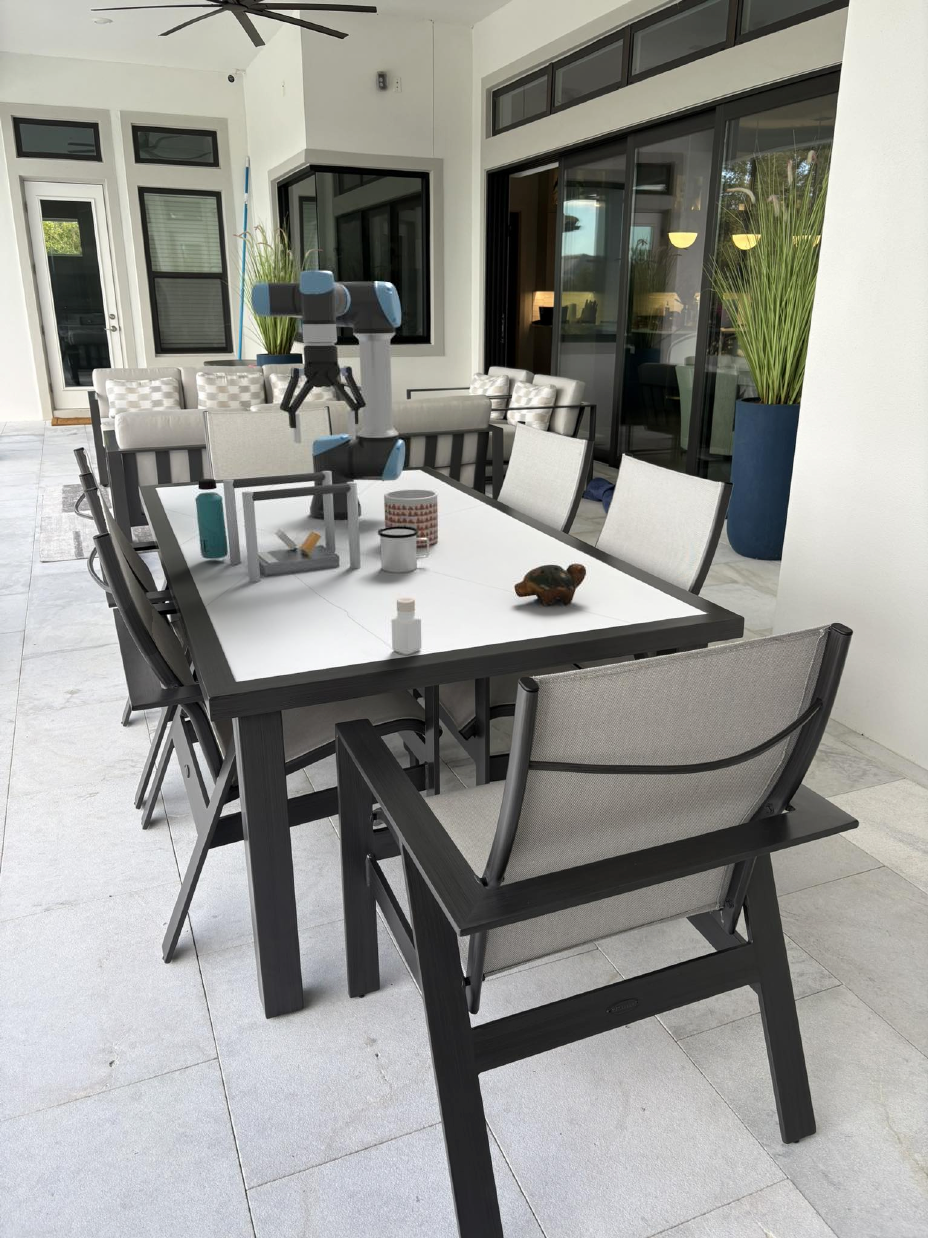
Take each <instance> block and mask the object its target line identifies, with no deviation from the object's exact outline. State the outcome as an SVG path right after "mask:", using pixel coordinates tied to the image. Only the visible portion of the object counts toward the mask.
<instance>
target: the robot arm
mask: <svg viewBox="0 0 928 1238" xmlns="http://www.w3.org/2000/svg"><path fill="white" fill-rule="evenodd" d="M250 298H251V300H250V301H251V306H252V309H253V312H254V313H255V314H256V315H257V316H258V317H267V318H270V317H271V318H273V317H274V318H275V317H277V318H279V317H280V318H301V320H302V321H301V324H302V339H303V340H302V342H303V343H304V344H305V345H304V347H303V362H304V366H303V368H297V367H291V368H290V378H289V381H288V383H287V387H286V389H285V392H284V395H283V397H282V400H281V403H280V406H279V409H280V411H283V412H285V413H287V415H288V426H289V428H291V429H293V439H294V440H293V441H294V443H295V444H296V443H297V444H302V435H301V433H302V431H301V420H300V419H301V418H300V413H297V411H298V410H299V409H300V407H301V406H302V404H303V402H304V401H305V400H306V398H307V397H308V395H309V394H310V392H311V391H313V389H314V388H322V387H325V388H331V387H332V388H333V389H334V390H335V391H336V393H337V394H338V395H339V396H340V397H341V399H342V400H343V401H344V402H345V404H346V405H347V406H348V407H349V408H350V409H348V410H347V412H346V413H347V430H348V431H347V432H348V433H341V434H339V433H338V434H332V435H331V434H330V435H326V436H322V437H318V438H316V439H314V441H312V454H311V457H312V465H313V466H312V467H313V468H312V470H313V473H318V472H322V471H331V473H332V485H333V484H343V483H347V482H355V481H380V482H386V481H387V482H388V481H396V480H398V479H399V478H400V476H401V475H402V473H403V468H404V465H405V464H404V463H405V458H406V456H405V455H406V443H405V441H404V440H402V439H399V432H398V431H397V430H396V429H395V428H394V424H393V423H394V420H393V418H394V417H393V394H392V393H393V392H392V391H393V390H392V386H393V385H392V364H391V363H392V362H391V361H392V358H391V356H392V355H391V339H392V338H393V337H394V336H395V335H396V329H397V328H398V327H400V326H401V325H402V309H401V308H402V307H401V301H400V299H399V298H400V297H399V295H398V291H397V288H396V286H395V285H394V284H393V283H391V282H387V281H377V280H376V281H338V282H337V281H335V276H334V273H333V272H332V271H330V270H303V271H301V273H300V275H299V282H269V281H265V282H257V283H255V284H254V285H253V286H252V289H251V294H250ZM337 327H341V328H342V327H343V328H344V327H345V328H346V327H347V328H352V333H353V334H352V335H353V336H355V337H356V339H358V343H359V344H358V346H359V348H358V349H359V366H360V367H359V368H360V369H359V371H360V388H359V387H358V384H357V382H356V380H355V378H354V375H353V369H352V367H351V366H349V365H345V366H343V367H341V366H339V358H338V357H339V356H338V355H339V354H338V346H337V345H335V344H336V343H337V342H338V336H337V335H338V333H337ZM340 374H341V375H342V377H344V380H345V381H346V384H347V386H348V388H349V390H350V392H351V394H352V396H353V398H354V399H353V398H352V397H351V396H350V394H349V393H348V392H347V390H346V389H345V388H344V387H343V386H342V384H341V382H340V381H339V380H338V377H339V375H340ZM302 375H304V377H305V378H306V381H305V382H304V383H303V385H302V387H301V389H300V390H299V392H298V393H297V395H296V396H295V397H294V395H295V392H296V388H297V387H298V384H299V381H300V379H301V378H302ZM293 398H294V399H293ZM292 400H293V401H292ZM360 410H361V414H362V417H361V418H362V429H361V430H360V431H359V432H358V433H357V434H356V425H359V422H360V421H359V411H360ZM356 435H357V436H356ZM313 482H314V483H313V484H314V485H313V486H322V481H313ZM358 497H359V496H357V498H358ZM333 511H334V521H336V520H337V521H338V520H348V508H347V492H342V493H333ZM309 515H310V517H311V518H314V519H319V520H324V507H323V494H322V495H312V499H311V503H310V506H309ZM361 515H362V505H361V502H360V499H359V498H358V517H360V516H361Z"/></svg>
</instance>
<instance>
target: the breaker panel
mask: <svg viewBox="0 0 928 1238" xmlns="http://www.w3.org/2000/svg"><path fill="white" fill-rule="evenodd" d="M300 550H301V548H300V547H297V550H294V549H293V550H292V549H290V548H287V549H278V550H273V551H272V550H271V551H263V552H258V557H259V569H260V574H261V575H263V576H264V577H271V576H279V575H284V574H285V575H287V574H292V573H299V572H300V573H301V572H308V571H314V570H315V571H316V570H323V569H329V568H336V567H340V555H338V554H336V553H335V552H332V551H331V550H329V549H328V548H326V546H325V545H322V544H320V545H315V547H314V548H313V549H312V551H311V552H310V554H308V553H307V555H305V554H303V553H302V552H301V551H300Z"/></svg>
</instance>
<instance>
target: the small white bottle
mask: <svg viewBox="0 0 928 1238" xmlns="http://www.w3.org/2000/svg"><path fill="white" fill-rule="evenodd" d="M415 601H416V599H415V598H413V597H408V596H406V597H403V596H402V597H399V598H397V599H396V613H397V614H396V616H394V617H393V618H392V619H391V643H392V645H391V646H392V651H394V652H397V653H400V654H402V655H404V656H405V655H407V656H408V655H411V654H413V653H416V652H418V651H419V652H420V651H421V650H422V619H421V618H420V616H418V615H415V614H416V612H415V611H416V606H415V605H416V603H415Z"/></svg>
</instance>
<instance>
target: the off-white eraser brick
mask: <svg viewBox="0 0 928 1238" xmlns="http://www.w3.org/2000/svg"><path fill="white" fill-rule="evenodd" d="M274 535H276V536H277V538H278V539H280V540H281V541H282V543H284V545H285V546H287V547H288V549H292V550H293V549H294V550H297V548H298V547H297V546H298V545H297V544H296V543H295V542H294V541H293V540H292V539H291V538H290V537H289V535H287V534H286V533H285V532H284V531H283V530H282V529H280V528H279V529H277V530H276V532H274Z"/></svg>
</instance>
